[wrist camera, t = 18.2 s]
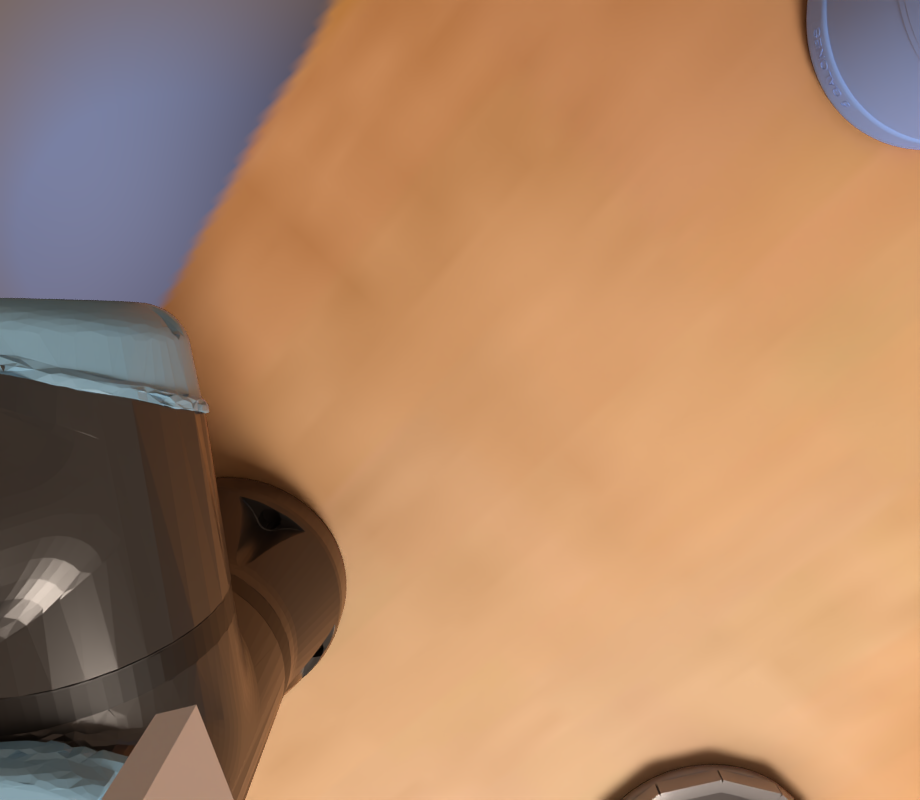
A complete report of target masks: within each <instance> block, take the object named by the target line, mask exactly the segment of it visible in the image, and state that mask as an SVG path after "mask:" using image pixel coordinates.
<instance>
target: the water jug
mask: <svg viewBox="0 0 920 800" xmlns="http://www.w3.org/2000/svg"><path fill="white" fill-rule="evenodd" d="M806 24H807V39H808V47H809V52H810V57H811V60H812V64H813V67H814V70H815V73H816V76H817V78H818V80H819V82H820V85H821V87H822V88H823V90H824V92H825V94H826V95H827V97H828V99H829V100H830V101H831V103H832V104H833V106H834V107H835V108H836V109H837V110H838V112H839V113H840V114H841V115H842V116H843V117H844V118H845V119H846V120H847V121H848V122H850V123H851V124H852V125H853V126H855V127H856V128H857V129H859V130H860V131H862V132H863V133H865V134H867V135H868V136H870V137H872V138H874V139H876V140H879V141H881V142H884V143H887V144H890V145H893V146H897V147H901V148H907V149H915V150H920V0H808V3H807V19H806Z"/></svg>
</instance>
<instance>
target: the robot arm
mask: <svg viewBox="0 0 920 800" xmlns="http://www.w3.org/2000/svg"><path fill="white" fill-rule="evenodd" d="M208 412H209V407H208V404H207V402H206V401H205V400H204V399H203V398H202V397H201V393H200V388H199V383H198V379H197V374H196V369H195V365H194V360H193V355H192V351H191V346H190V341H189V338H188V335H187V333H186V331H185V329H184V327H183V326H182V324H181V323H180V322H179V321H178V320H177V319H176V318H175V317H174V316H173V315H172V314H170V313H169V312H167V311H166V310H164V309H162V308H160V307H157V306H154V305H151V304H147V303H139V302H124V301H98V300H64V299H26V298H0V800H245V798H246V795H247V793H248V790H249V787H250V785H251V782H252V779H253V777H254V774H255V771H256V768H257V766H258V763H259V760H260V758H261V755H262V752H263V750H264V747H265V744H266V741H267V739H268V736H269V733H270V731H271V728H272V725H273V723H274V720H275V717H276V714H277V712H278V709H279V706H280V703H281V701H282V698H283V696H284V695H285V694H286V693H287V692H288V691H289V690H291V689H292V688H293V687H294V686H295V685H296V684H297V683H298V682H299V681H300V680H301V679H302V678H303V677H304V676H305V675H307V674H308V673H309V672H310V671H311V670H312V669H313V668H314V667H315V666H316V664H317V663H318V662H319V661H320V660H321V658H322V657H323V656H324V654H325V653H326V651H327V649H328V648H329V646H330V644H331V642H332V640H333V638H334V636H335V634H336V631H337V628H338V625H339V622H340V618H341V615H342V612H343V609H344V604H345V598H346V574H345V568H344V563H343V560H342V556H341V554H340V551H339V548H338V546H337V544H336V542H335V540H334V538H333V536H332V535H331V533H330V532H329V530H328V528H327V527H326V526H325V525H324V523H323V522H322V521H321V520H320V519H319V517H318V516H317V515H316V514H315V513H314V512H313V511H312V510H311V509H309V508H308V507H307V506H306V505H305V504H303V503H302V502H301V501H299V500H298V499H296V498H295V497H293V496H292V495H290V494H288V493H286V492H285V491H283V490H281V489H278V488H276V487H274V486H271V485H268V484H265V483H262V482H259V481H254V480H250V479H243V478H230V477H223V478H215V471H214V465H213V458H212V452H211V445H210V439H209V432H208V426H207V419H206V413H208Z"/></svg>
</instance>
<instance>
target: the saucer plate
mask: <svg viewBox="0 0 920 800" xmlns="http://www.w3.org/2000/svg"><path fill="white" fill-rule="evenodd" d="M622 800H795V799H794V798H793V797H792V795H791V794H790V793H789V792H787V791H786V790H785V789H784V788H783V787H782V786H780V785H779V784H777V783H776V782H774V781H773V780H771V779H769V778H768V777H765V776H763V775H761V774H759V773H756V772H754V771H750V770H747V769H744V768H740V767H734V766H728V765H713V764H712V765H696V766H690V767H684V768H680V769H676V770H673V771H669V772H666V773H664V774H661V775H659V776H656V777H654V778H652V779H650V780H648V781H646V782H645V783H643V784H641V785H639V786H638V787H637V788H635V789H634V790H632V791H631V792H629V793H628V794H627V795H626V796H625V797H624V798H623V799H622Z"/></svg>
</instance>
